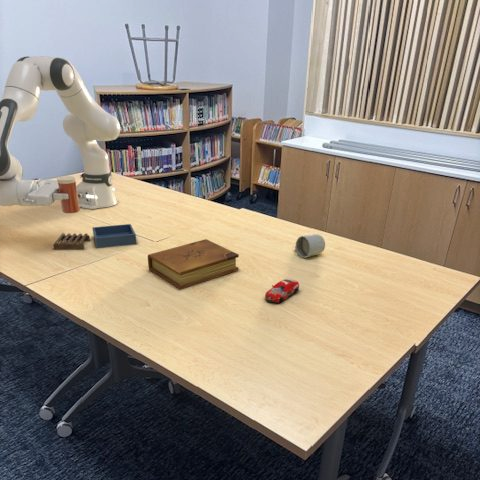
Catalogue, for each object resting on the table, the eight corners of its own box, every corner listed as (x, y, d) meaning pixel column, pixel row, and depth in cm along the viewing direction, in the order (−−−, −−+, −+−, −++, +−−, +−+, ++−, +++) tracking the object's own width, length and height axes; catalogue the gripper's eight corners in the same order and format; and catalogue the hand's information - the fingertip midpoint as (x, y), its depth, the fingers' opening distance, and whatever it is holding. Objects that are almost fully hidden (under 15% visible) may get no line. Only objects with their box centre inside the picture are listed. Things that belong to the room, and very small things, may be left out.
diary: (205, 253, 170) (204, 238, 167) (238, 270, 158) (238, 254, 155) (148, 269, 157) (147, 253, 154) (180, 289, 145) (179, 271, 142)
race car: (276, 306, 136) (277, 293, 134) (261, 300, 139) (262, 288, 137) (302, 290, 145) (303, 278, 143) (287, 285, 148) (288, 273, 146)
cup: (60, 213, 167) (54, 180, 161) (64, 208, 172) (59, 176, 166) (77, 213, 167) (72, 180, 162) (81, 208, 172) (76, 176, 167)
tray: (96, 248, 173) (95, 238, 171) (93, 236, 183) (92, 227, 181) (136, 244, 177) (135, 234, 175) (131, 233, 187) (130, 223, 185)
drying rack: (54, 249, 171) (52, 242, 170) (61, 239, 180) (60, 233, 179) (83, 249, 172) (82, 242, 170) (90, 239, 180) (89, 233, 179)
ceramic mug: (325, 255, 170) (327, 235, 166) (308, 260, 166) (310, 239, 162) (305, 247, 178) (307, 227, 174) (288, 251, 173) (290, 231, 170)
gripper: (18, 192, 155) (62, 192, 156) (37, 177, 173) (76, 177, 174) (22, 211, 158) (65, 210, 159) (40, 194, 176) (78, 194, 177)
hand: (71, 193), depth 167 cm, fingers closed on cup, 6 cm apart
